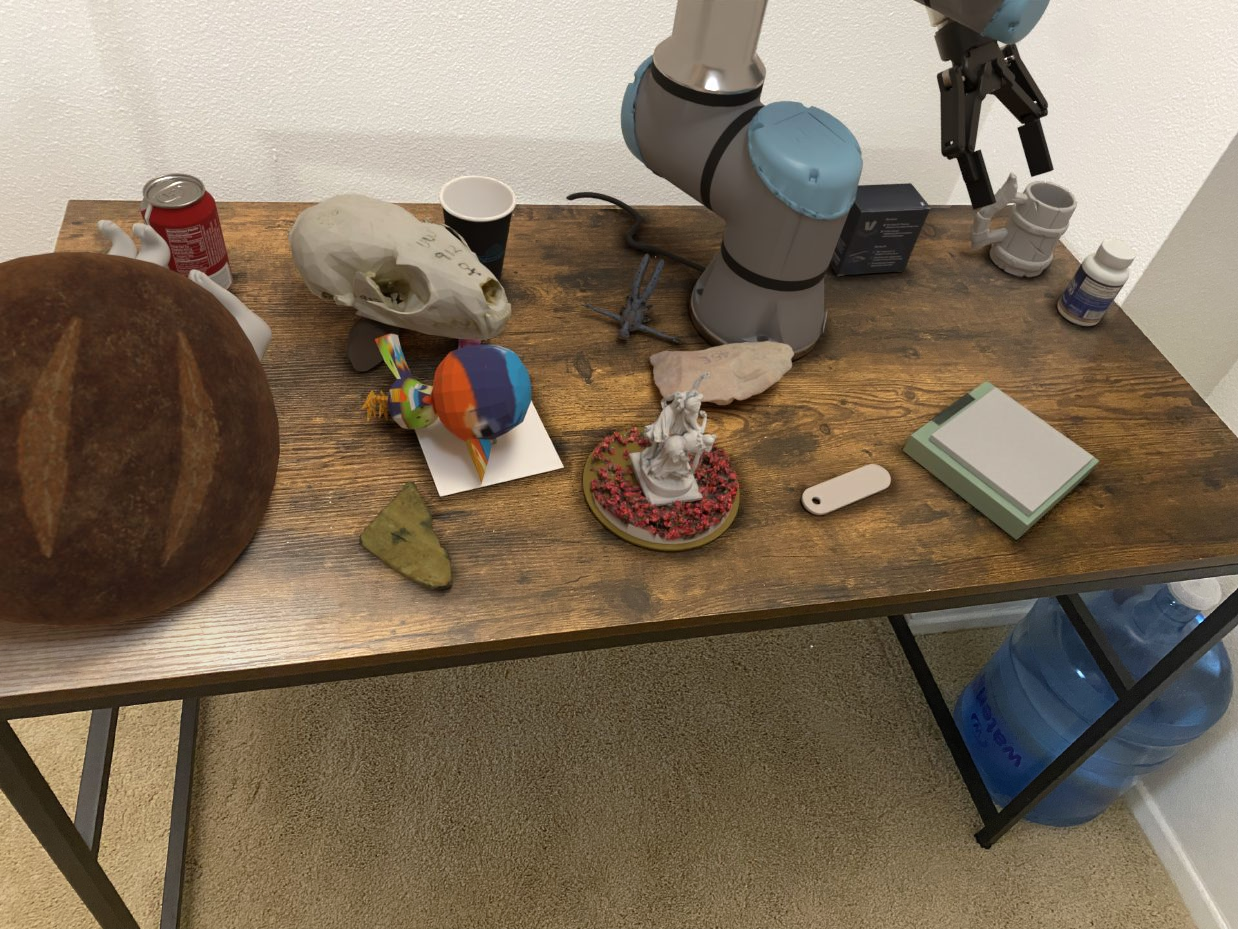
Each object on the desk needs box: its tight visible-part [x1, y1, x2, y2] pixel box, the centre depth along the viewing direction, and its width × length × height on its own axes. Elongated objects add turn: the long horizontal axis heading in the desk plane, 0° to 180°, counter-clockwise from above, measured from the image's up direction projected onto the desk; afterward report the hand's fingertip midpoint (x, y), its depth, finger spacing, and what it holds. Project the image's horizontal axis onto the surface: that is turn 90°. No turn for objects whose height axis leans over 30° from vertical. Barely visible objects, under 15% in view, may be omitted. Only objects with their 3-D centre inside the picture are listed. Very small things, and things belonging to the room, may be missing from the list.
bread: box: [0, 251, 281, 627], centre depth 67 cm, size 28×27×9 cm
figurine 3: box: [582, 372, 741, 552], centre depth 82 cm, size 15×15×14 cm
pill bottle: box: [1057, 238, 1137, 327], centre depth 111 cm, size 5×5×10 cm
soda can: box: [139, 172, 234, 292], centre depth 93 cm, size 7×7×12 cm
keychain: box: [801, 463, 892, 516], centre depth 90 cm, size 10×1×3 cm
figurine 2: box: [579, 253, 681, 344], centre depth 100 cm, size 12×10×5 cm
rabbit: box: [96, 219, 273, 363], centre depth 75 cm, size 12×21×25 cm
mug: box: [969, 171, 1078, 278], centre depth 116 cm, size 8×12×12 cm, turn 91°
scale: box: [902, 380, 1100, 540], centre depth 94 cm, size 14×14×3 cm
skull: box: [288, 193, 512, 342], centre depth 89 cm, size 14×24×10 cm, turn 58°
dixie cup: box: [438, 174, 517, 283], centre depth 99 cm, size 8×8×11 cm
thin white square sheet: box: [414, 400, 565, 497], centre depth 88 cm, size 12×12×2 cm
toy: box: [361, 334, 533, 484], centre depth 84 cm, size 10×14×15 cm
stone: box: [359, 481, 454, 591], centre depth 79 cm, size 12×7×2 cm, turn 24°
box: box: [829, 182, 932, 277], centre depth 112 cm, size 9×6×10 cm, turn 104°
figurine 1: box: [345, 292, 405, 372], centre depth 95 cm, size 6×4×12 cm
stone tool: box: [649, 341, 794, 406], centre depth 96 cm, size 9×5×15 cm
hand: (1014, 189), depth 115 cm, fingers open, 13 cm apart
